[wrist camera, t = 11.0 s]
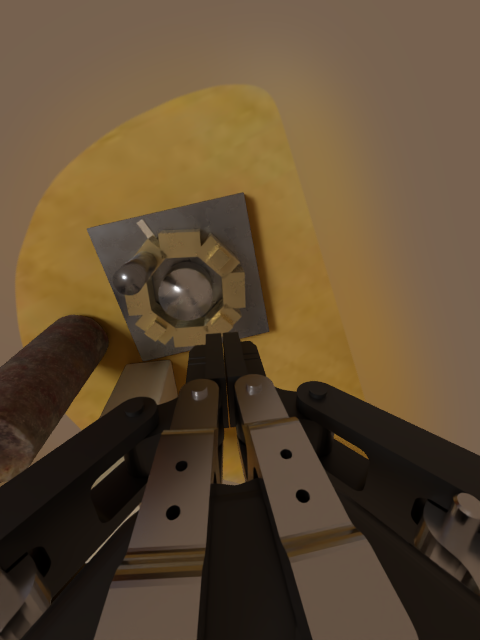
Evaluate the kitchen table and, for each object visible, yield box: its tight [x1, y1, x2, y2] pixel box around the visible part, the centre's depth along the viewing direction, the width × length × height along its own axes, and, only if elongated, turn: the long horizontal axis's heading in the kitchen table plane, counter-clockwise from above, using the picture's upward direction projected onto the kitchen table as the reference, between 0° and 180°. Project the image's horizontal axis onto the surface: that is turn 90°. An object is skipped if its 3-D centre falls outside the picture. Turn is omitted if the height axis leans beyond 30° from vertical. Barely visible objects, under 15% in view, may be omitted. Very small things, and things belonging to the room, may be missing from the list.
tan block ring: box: [113, 229, 245, 347], centre depth 30 cm, size 14×14×10 cm
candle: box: [0, 315, 109, 483], centre depth 29 cm, size 8×7×20 cm
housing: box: [87, 192, 269, 361], centre depth 34 cm, size 18×18×6 cm
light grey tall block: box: [85, 360, 178, 563], centre depth 33 cm, size 8×7×21 cm
